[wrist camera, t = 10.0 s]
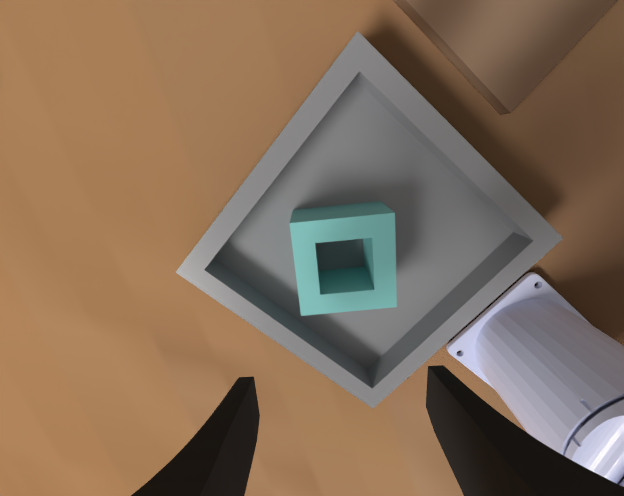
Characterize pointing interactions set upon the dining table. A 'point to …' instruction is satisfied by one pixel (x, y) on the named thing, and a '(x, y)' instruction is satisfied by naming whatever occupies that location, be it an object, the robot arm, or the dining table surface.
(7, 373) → the dining table surface
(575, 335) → the robot arm
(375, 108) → the tray
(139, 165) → the dining table surface
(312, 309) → the collar
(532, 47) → the stake board
